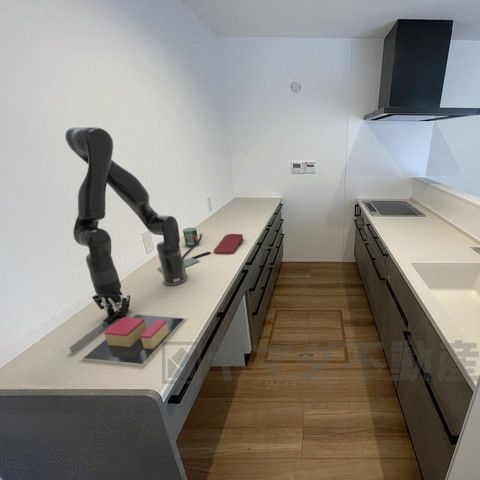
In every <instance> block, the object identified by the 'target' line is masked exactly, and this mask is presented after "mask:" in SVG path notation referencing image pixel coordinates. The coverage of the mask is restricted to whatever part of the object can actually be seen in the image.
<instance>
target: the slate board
mask: <svg viewBox="0 0 480 480" xmlns="http://www.w3.org/2000/svg"><path fill="white" fill-rule="evenodd" d="M132 318H139V319H144V320H145V324H146V327H147V329H148V328H149V327H150V326H151V325H152V324H153V323H154V322H155V321H156V320H164V321H167V326H168V330H169V333H168V334H167V335H166V336H165V338H164V339H163V340H162V341H161V342H160V343H159V344H158V345H157V346H156V347H155V348H154V349H147V348H144V347H143V343H142V340H141V337H140V338H139V339H138V340H137V341H136V342H135V343H134V344H133V345H132V346H131V347H125V346H114V345H108V343H107V340H106V339H105V340H103V341H102V342H100V344H98V345H97V346H96V347H95V348H93V349H92V350H91V351H90V352H88V353H87V354H86V355H85V356H84V357H83V359H86V360H87V359H88V360H97V361H107V362H116V363H127V364H137V365H143V364H144V363H145V362H146V361H147V360H148V359H149V357H151V356H152V354H153V353H155V351H156V350H157V349H158V348H159V347H160V346H161V345H162V343H164V341H166V339H167V338H168V337H169V336H170V335H171V334H172V333H173V331H175V329H177V327H178V326H179V325H180V324H181V323H182V322H183V321H184V318H182V317H181V318H180V317H171V316H170V317H169V316H157V315H145V314H135V315H134V316H132Z"/></svg>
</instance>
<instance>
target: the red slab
mask: <svg viewBox="0 0 480 480" xmlns="http://www.w3.org/2000/svg"><path fill="white" fill-rule="evenodd" d="M243 235H244V234H243V233H228V234H226V235H224V236H223V237H222V239H221V240H220V242H219V243H218V244H217V246H216V247H215V248H214V249H213V253H214V254H217V255H232V254H235V251H236V250H237V249H238V247H239V245H240V244H241V242H242V241H243V240H244V236H243Z"/></svg>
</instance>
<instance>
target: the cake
mask: <svg viewBox="0 0 480 480" xmlns="http://www.w3.org/2000/svg"><path fill="white" fill-rule="evenodd" d="M146 330H147V327H146V324H145V320H144V319H139V318H133V317H127V316H126V317H123V318H122V319H118V320H117V321H116V322H114V323H113V324H112V326H111V325H110V327H109V328H108V329H107V330H105V331H104V332H103V334H104V337H105V340H107V343H108V345H114V346H125V347H131V346H132V345H133V344H134V343H135V342H136V341H137V340H138V339H139V338H140V337H141V335H142V334H143V333H144V332H145V331H146Z"/></svg>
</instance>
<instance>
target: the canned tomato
mask: <svg viewBox="0 0 480 480" xmlns="http://www.w3.org/2000/svg"><path fill="white" fill-rule="evenodd" d="M182 234H183V238H184V245H185V248H189V249H190V248H191V247H192V246H194V247H193V248H196V247H198V246H199V245H200V244H199V243H200V242H198V240H199V236H198V231H197V227H186V228H183V229H182Z"/></svg>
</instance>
